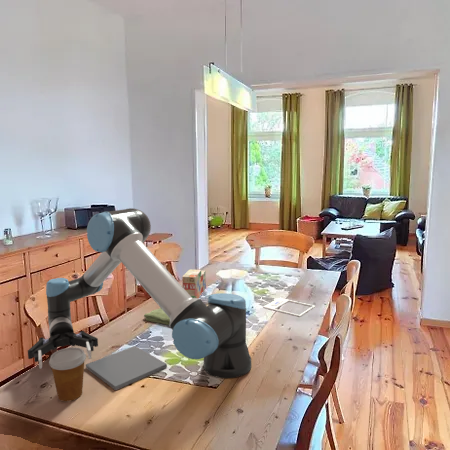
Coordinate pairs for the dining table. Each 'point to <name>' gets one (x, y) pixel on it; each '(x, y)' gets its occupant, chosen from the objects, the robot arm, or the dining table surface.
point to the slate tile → (125, 367)
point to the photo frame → (281, 301)
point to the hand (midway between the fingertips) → (65, 359)
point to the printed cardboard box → (194, 282)
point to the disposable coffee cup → (68, 372)
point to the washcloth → (158, 317)
